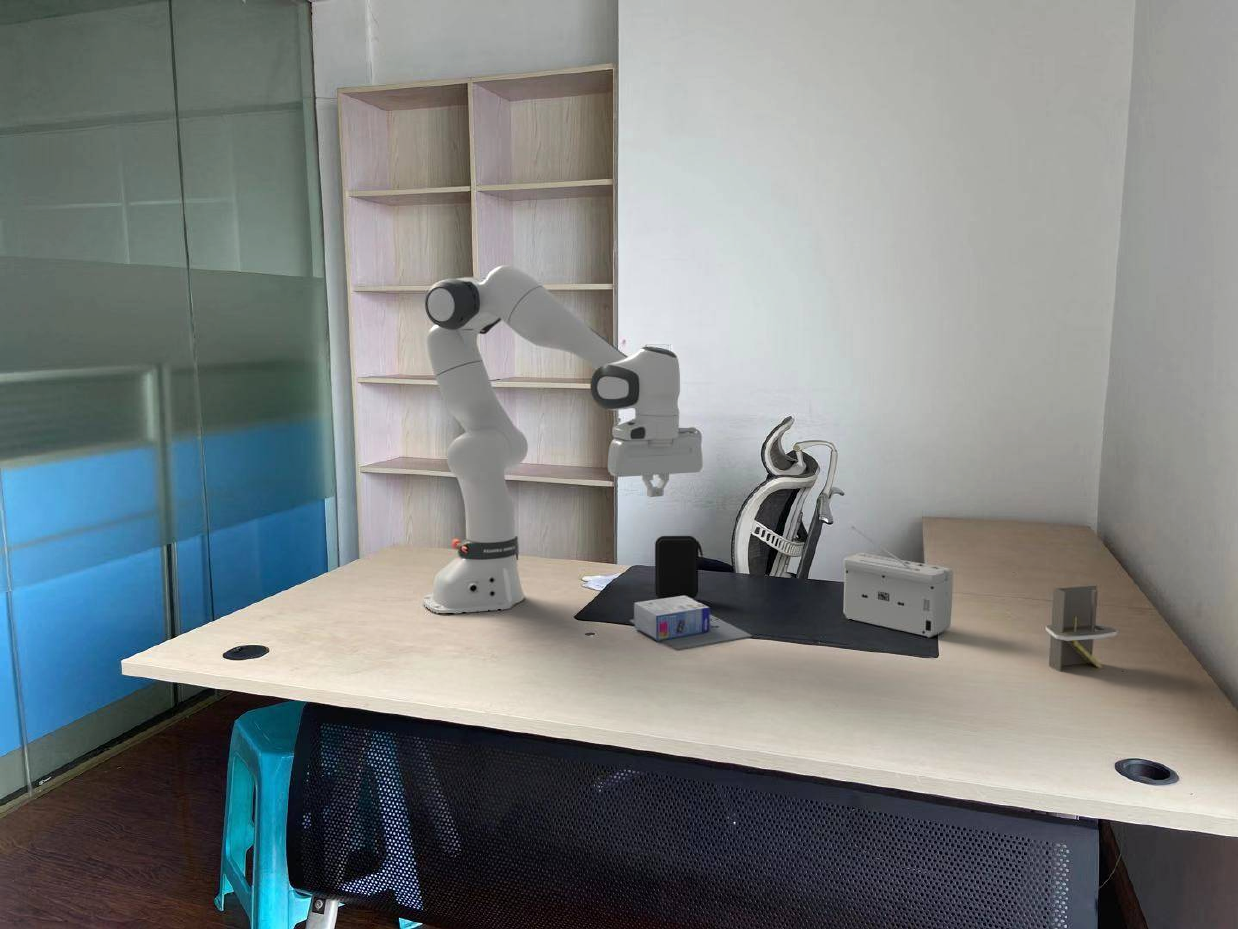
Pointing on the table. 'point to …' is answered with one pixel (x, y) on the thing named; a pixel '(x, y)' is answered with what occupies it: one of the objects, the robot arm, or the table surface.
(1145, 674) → the table surface
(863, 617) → the stereo radio cassette player
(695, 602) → the ink cartridge box
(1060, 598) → the architectural model
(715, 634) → the mat
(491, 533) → the robot arm
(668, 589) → the carrying case or bag
